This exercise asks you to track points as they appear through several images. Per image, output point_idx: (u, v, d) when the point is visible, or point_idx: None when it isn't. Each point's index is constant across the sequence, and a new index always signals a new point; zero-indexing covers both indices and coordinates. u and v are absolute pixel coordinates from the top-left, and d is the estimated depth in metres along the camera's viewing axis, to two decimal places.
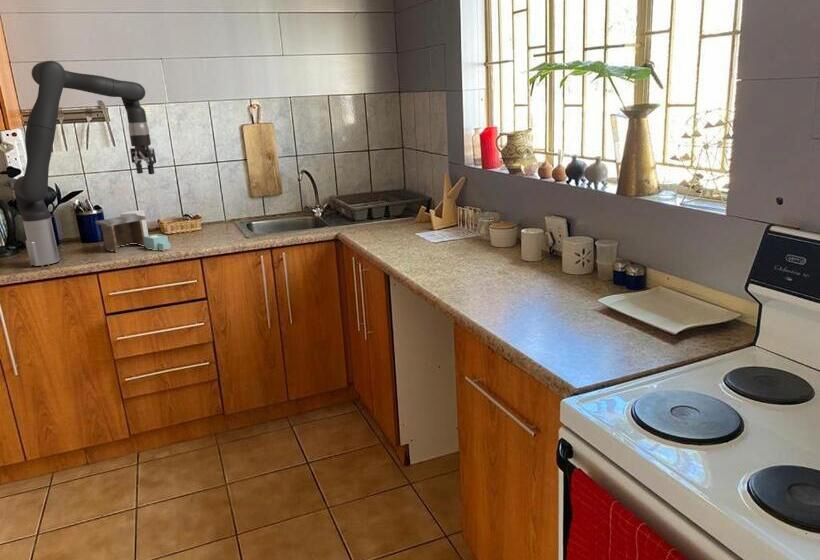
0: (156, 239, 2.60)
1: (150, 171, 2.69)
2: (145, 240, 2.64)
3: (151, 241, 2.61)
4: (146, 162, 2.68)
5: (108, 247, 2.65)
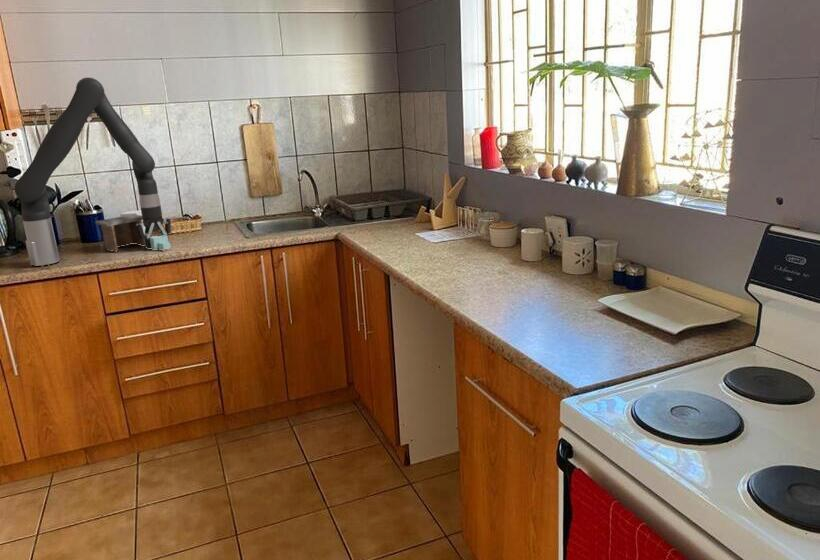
0: (156, 239, 2.60)
1: None
2: None
3: (151, 241, 2.61)
4: (163, 233, 2.65)
5: (108, 247, 2.65)
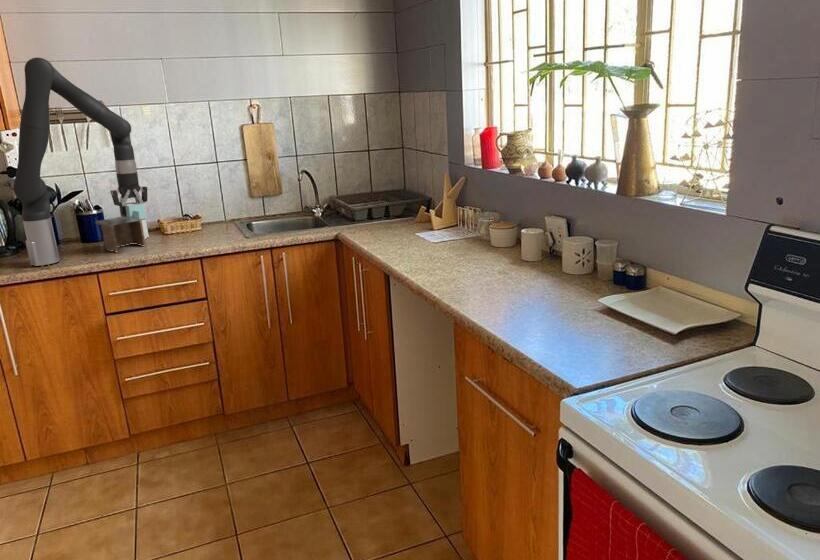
0: (132, 207, 2.53)
1: None
2: None
3: (127, 208, 2.53)
4: (139, 201, 2.58)
5: (108, 247, 2.65)
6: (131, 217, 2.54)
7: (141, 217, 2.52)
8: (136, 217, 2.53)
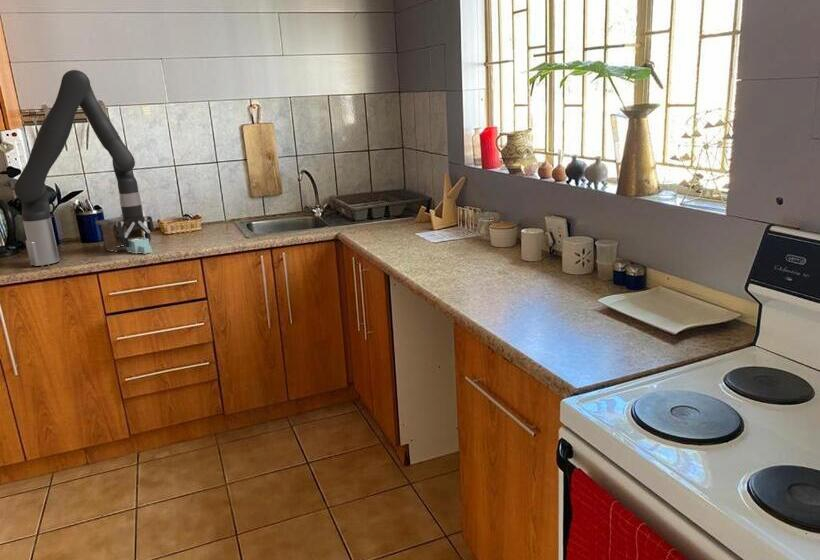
0: (137, 242, 2.56)
1: (149, 239, 2.63)
2: None
3: (132, 244, 2.57)
4: (146, 231, 2.61)
5: (108, 247, 2.65)
6: None
7: (146, 252, 2.56)
8: None
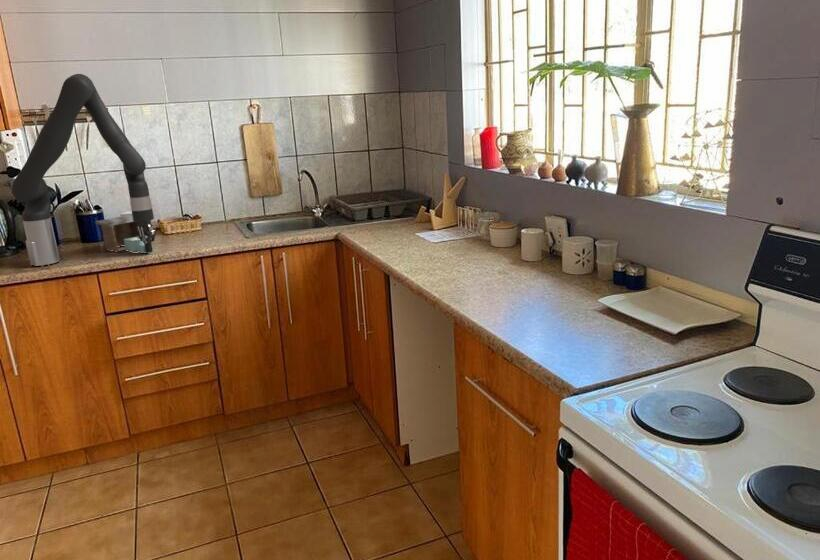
0: (136, 242, 2.57)
1: None
2: (125, 243, 2.61)
3: (131, 244, 2.58)
4: None
5: (108, 247, 2.65)
6: None
7: None
8: None
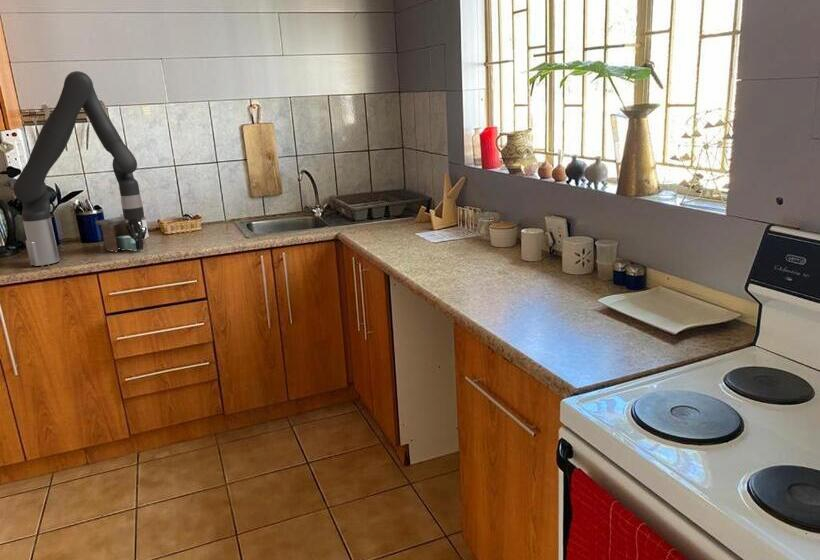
0: (127, 240, 2.63)
1: None
2: (116, 240, 2.67)
3: (122, 241, 2.63)
4: None
5: (108, 247, 2.65)
6: None
7: None
8: None
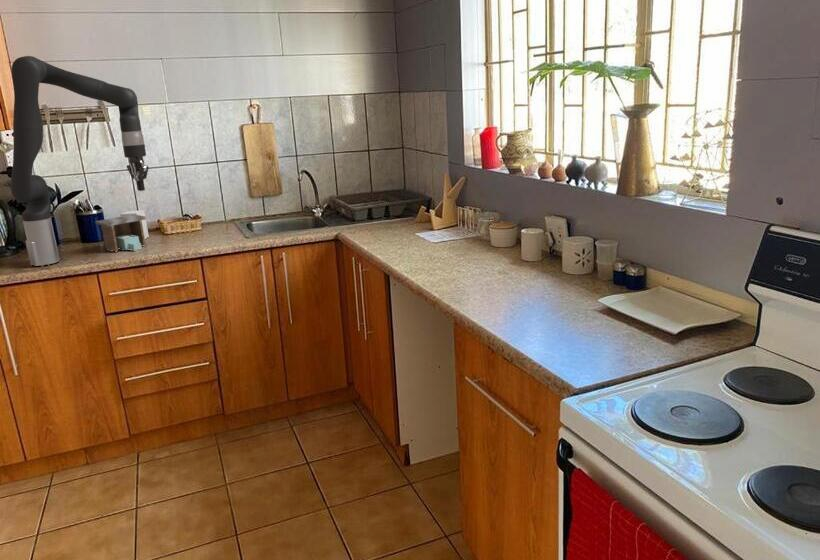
0: (127, 240, 2.63)
1: None
2: (116, 240, 2.67)
3: (122, 241, 2.63)
4: None
5: (108, 247, 2.65)
6: None
7: (136, 249, 2.62)
8: None
